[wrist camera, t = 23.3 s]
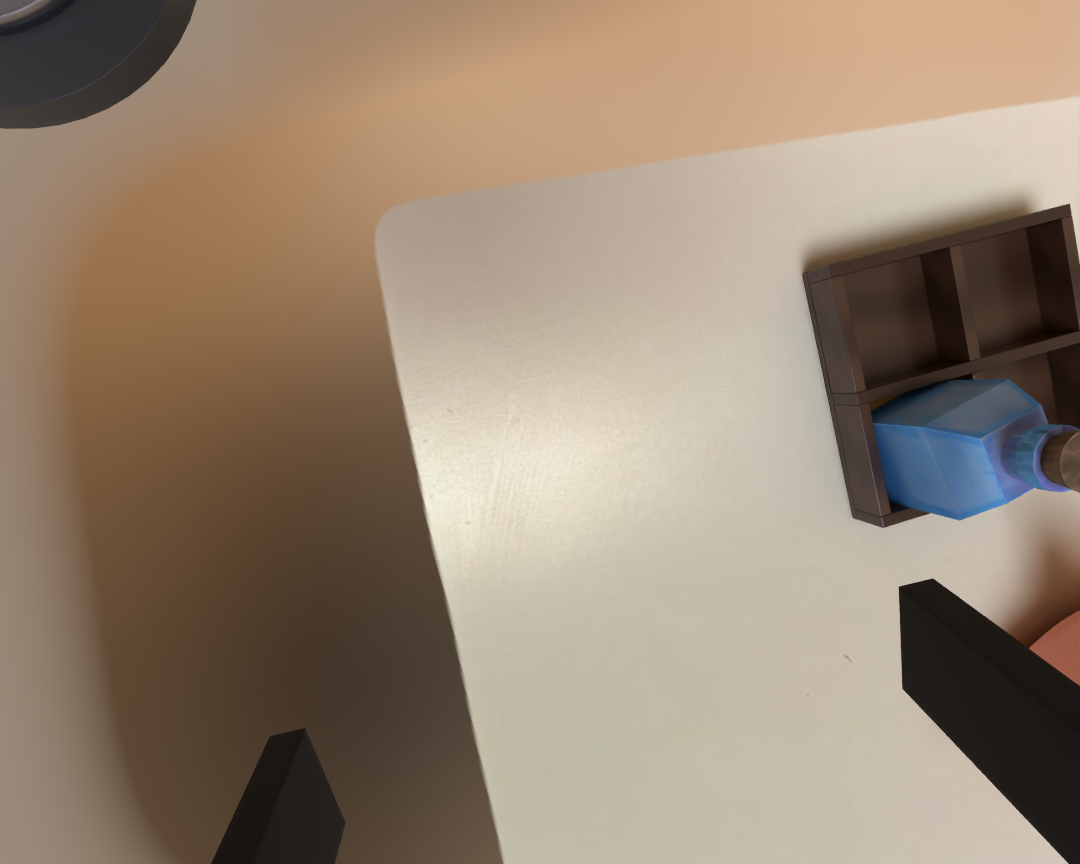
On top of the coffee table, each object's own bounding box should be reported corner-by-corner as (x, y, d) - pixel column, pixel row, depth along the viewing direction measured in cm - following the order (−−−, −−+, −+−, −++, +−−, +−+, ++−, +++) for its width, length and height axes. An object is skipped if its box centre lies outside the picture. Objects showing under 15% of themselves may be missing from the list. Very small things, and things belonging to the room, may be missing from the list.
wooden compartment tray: (802, 274, 40) (829, 264, 37) (1027, 216, 41) (1070, 203, 38) (852, 518, 41) (883, 528, 38) (1066, 453, 43) (1111, 457, 40)
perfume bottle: (885, 500, 41) (1058, 546, 29) (850, 421, 40) (1013, 434, 28) (959, 460, 41) (1159, 487, 29) (926, 380, 40) (1118, 376, 29)
